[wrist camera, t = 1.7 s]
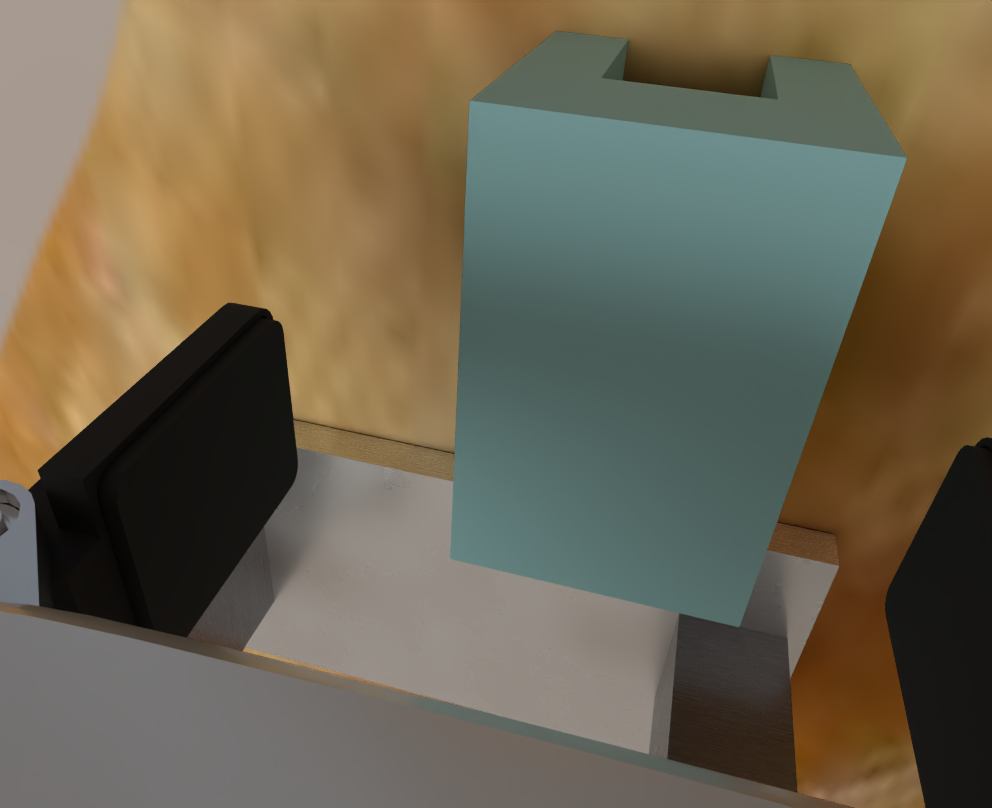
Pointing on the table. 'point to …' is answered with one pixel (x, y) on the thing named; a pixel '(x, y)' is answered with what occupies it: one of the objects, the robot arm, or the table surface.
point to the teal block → (653, 315)
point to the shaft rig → (513, 618)
